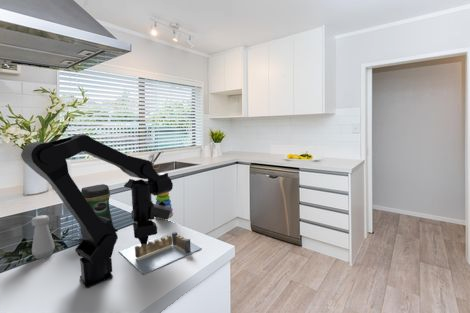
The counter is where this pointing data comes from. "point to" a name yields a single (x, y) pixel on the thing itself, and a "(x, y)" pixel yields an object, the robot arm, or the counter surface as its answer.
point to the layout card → (156, 256)
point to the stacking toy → (167, 202)
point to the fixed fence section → (181, 242)
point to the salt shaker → (42, 238)
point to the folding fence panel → (153, 246)
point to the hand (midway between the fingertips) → (144, 246)
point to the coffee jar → (98, 199)
